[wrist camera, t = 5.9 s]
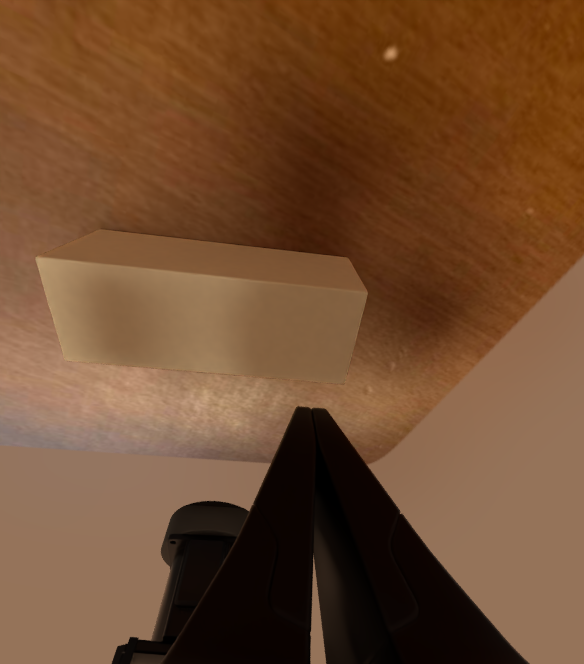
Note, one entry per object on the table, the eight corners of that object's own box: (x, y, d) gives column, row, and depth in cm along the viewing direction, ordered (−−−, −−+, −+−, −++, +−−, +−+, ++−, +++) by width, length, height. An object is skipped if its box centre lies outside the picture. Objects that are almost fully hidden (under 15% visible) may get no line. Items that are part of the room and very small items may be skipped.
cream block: (345, 385, 14) (64, 361, 13) (332, 334, 18) (114, 313, 17) (369, 292, 12) (33, 256, 11) (348, 257, 16) (99, 228, 15)
